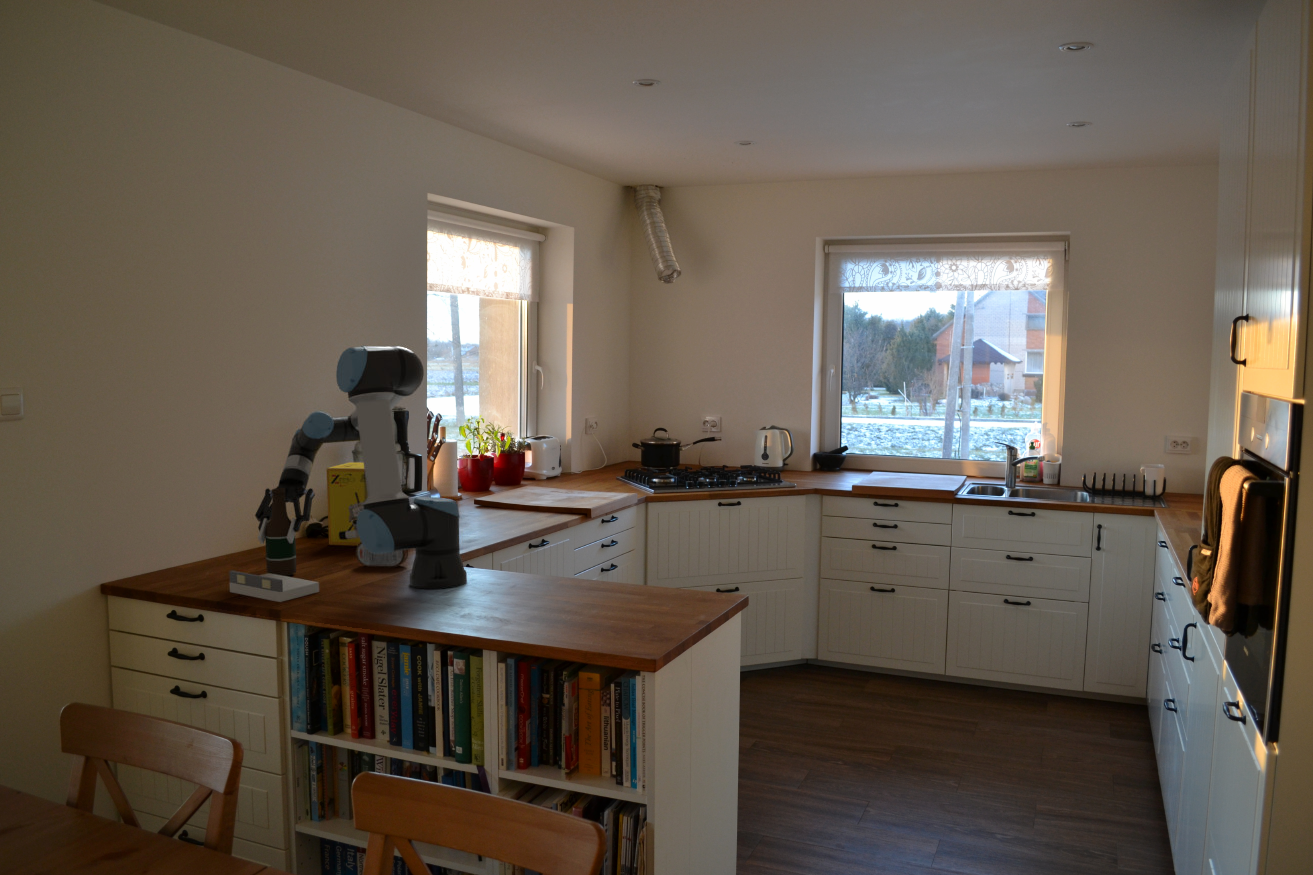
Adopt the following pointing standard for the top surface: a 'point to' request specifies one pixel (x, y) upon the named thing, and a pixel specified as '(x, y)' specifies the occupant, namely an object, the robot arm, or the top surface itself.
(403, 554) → the tin
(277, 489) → the beer bottle
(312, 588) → the grey slab
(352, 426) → the robot arm
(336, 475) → the packaging box
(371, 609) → the top surface
